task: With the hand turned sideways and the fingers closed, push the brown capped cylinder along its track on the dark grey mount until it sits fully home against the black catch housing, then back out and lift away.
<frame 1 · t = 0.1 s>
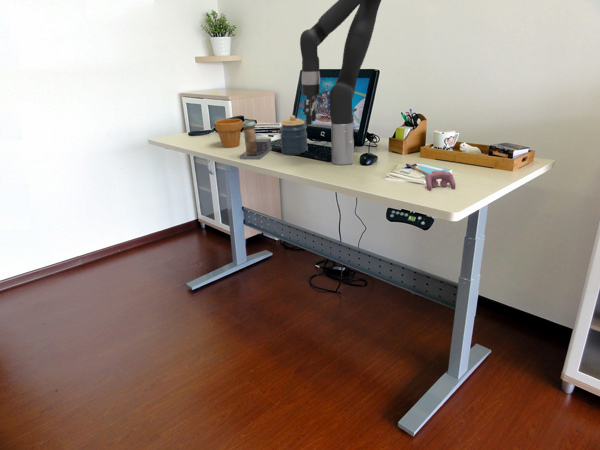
hand: (311, 122, 177), 17 cm above the table, tool pointing down, fingers open, 8 cm apart
brown capped cylinder: (250, 138, 192), point 9 cm above the table, slide at 0.0 cm
flower pot: (231, 146, 220), on the table
mount: (256, 154, 201), on the table
video game controller: (439, 188, 146), on the table
canister: (294, 152, 201), on the table
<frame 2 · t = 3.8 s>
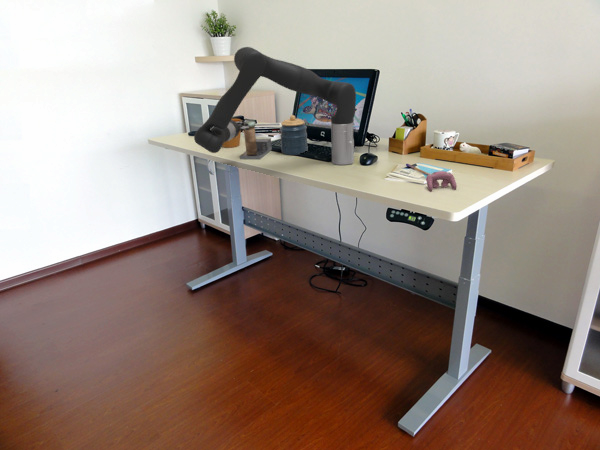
hand: (242, 122, 183), 18 cm above the table, tool horizontal, fingers closed
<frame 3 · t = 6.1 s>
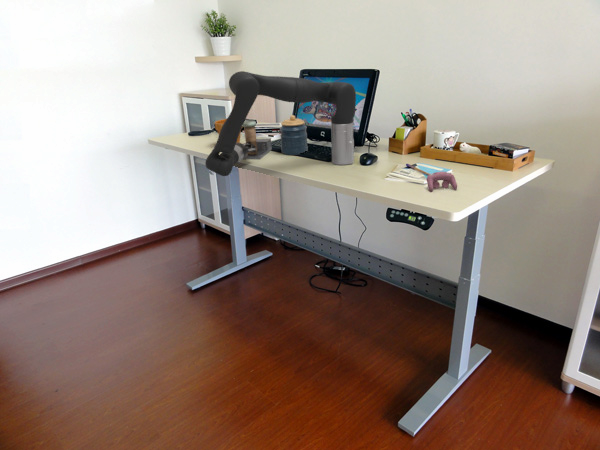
hand: (249, 143, 191), 7 cm above the table, tool horizontal, fingers closed
brown capped cylinder: (250, 138, 193), point 9 cm above the table, slide at 0.6 cm, touching gripper
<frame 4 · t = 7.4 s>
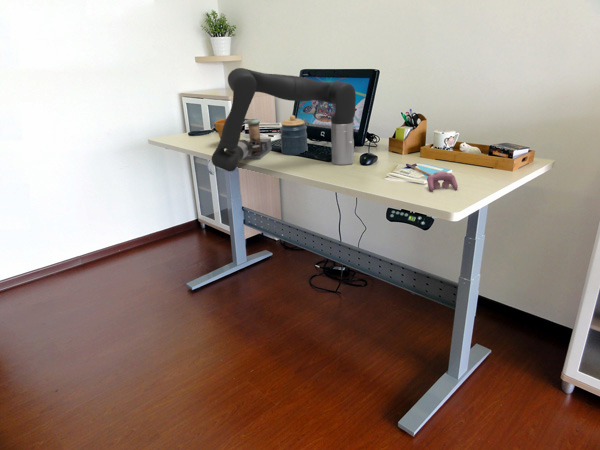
hand: (253, 141, 196), 7 cm above the table, tool horizontal, fingers closed
brown capped cylinder: (254, 135, 198), point 9 cm above the table, slide at 6.1 cm, touching gripper
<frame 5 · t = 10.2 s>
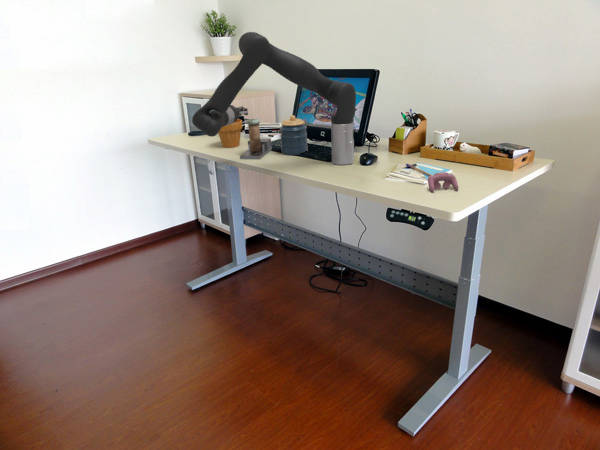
hand: (241, 109, 180), 24 cm above the table, tool horizontal, fingers closed
brown capped cylinder: (254, 135, 198), point 9 cm above the table, slide at 6.0 cm
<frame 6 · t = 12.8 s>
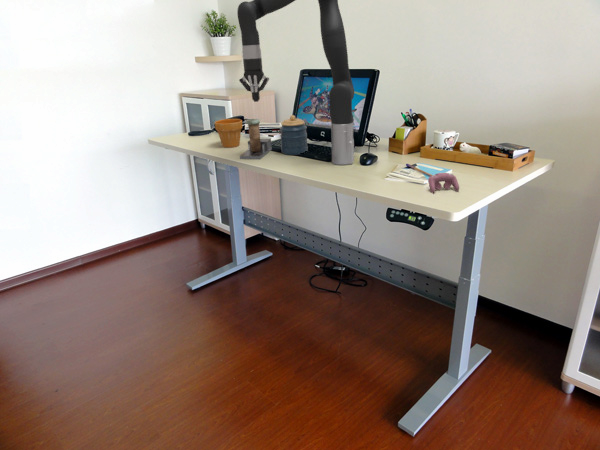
hand: (256, 101, 175), 27 cm above the table, tool pointing down, fingers closed
at the end: brown capped cylinder slide at 6.0 cm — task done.
